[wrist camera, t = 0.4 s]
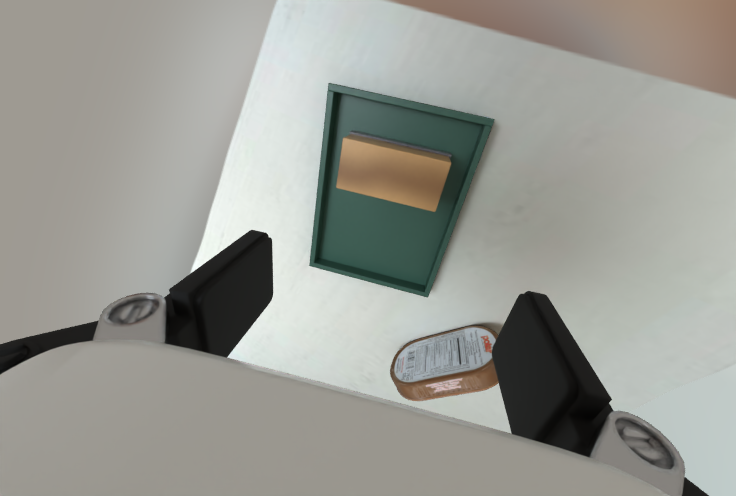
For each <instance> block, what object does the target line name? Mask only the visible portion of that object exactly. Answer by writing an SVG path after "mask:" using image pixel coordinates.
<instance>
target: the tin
mask: <svg viewBox="0 0 736 496" xmlns="http://www.w3.org/2000/svg"><path fill="white" fill-rule="evenodd" d="M497 337H498V334H497V333H496V332H494V331H493V330H491V329H489V328H487V327H483V326H468V327H463V328H460V329H456V330H452V331H448V332H444V333H440V334H436V335H432V336H428V337H424V338H421V339H417V340H414V341H412V342H410V343H408V344H406V345H405V346H404V347H402V348H401V349H400V350H399V351H398V352H397V354H396V355H395V357H394V359H393V362H392V364H391V369H390V375H391V378H392V380H393V382H394V384H395V385H396V387H397V390H398V392H399V393H400V394H401V395H402V396H403V397H404V398H406V399H408V400H412V401H424V400H430V399H435V398H441V397H447V396H453V395H459V394H466V393H472V392H478V391H483V390H487V389H489V388H491V387H493V386H495V385H497V384H498V383H499V382H498V378H497V374H496V370H495V366H494V362H493V359H492V348H493V345H494V343H495V341H496V339H497Z"/></svg>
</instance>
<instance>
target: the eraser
mask: <svg viewBox="0 0 736 496" xmlns="http://www.w3.org/2000/svg"><path fill="white" fill-rule="evenodd" d="M450 158H451V152H448V151H443V150H439V149H435V148H430V147H426V146H422V145H417V144H413V143H409V142H404V141H400V140H396V139H391V138H387V137H383V136H378V135H374V134H370V133H365V132H361V131H356V130H352V131H350V134H349V135H348V136H346V137H344V138H343V142H342V149H341V156H340V164H339V171H338V178H337V185H336V188H339V189H343V190H347V191H351V192H355V193H359V194H363V195H368V196H372V197H376V198H380V199H384V200H388V201H392V202H396V203H400V204H404V205H408V206H412V207H416V208H421V209H425V210H429V211H433V212H435V211H436V209H437V206H438V203H439V200H440V196H441V193H442V190H443V187H444V184H445V181H446V178H447V175H448V172H449V169H450V166H451V161H450Z"/></svg>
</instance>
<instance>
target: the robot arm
mask: <svg viewBox="0 0 736 496" xmlns="http://www.w3.org/2000/svg"><path fill="white" fill-rule="evenodd" d="M169 291H170V294H169V295H167V296H166V297H164V298H163V297H162V296H160V295H158V294H154V293H140V294H134V295H130V296H126V297H124V298H121V299H119V300H117V301H115V302H113V303H111V304H110V305H109V306H107V307H106V308H105V309H104V310H103V312H102V314H101V315H100V318H99V321H95V322H91V323H87V324H82V325H78V326H74V327H70V328H65V329H61V330H57V331H52V332H48V333H43V334H40V335H35V336H30V337H26V338H22V339H18V340H14V341H10V342H7V343H4V344H0V496H709V495H707V494H706V493H705V492H703V491H702V490H701V489H699V488H698V487H697V486H696V485H694V484H693V483H692V482H690V481H689V480H688V479H687V478H685V477H684V475H685V467H684V461H683V459H682V458H681V456H680V454H679V452H678V451H677V449H676V448H675V447H674V445H673V444H672V443H671V442H670V441H669V440H668V439H667V438H666V437H665V436H664V435H663V434H662V433H661V432H660V431H659V430H657V429H656V428H654V427H653V426H652V425H651V424H649V423H648V422H646V421H645V420H643V419H641V418H639V417H638V416H635V415H633V414H630V413H628V412H623V411H613V409H612V408H611V406H610V404H609V402H610V401H611V400H612V399H611V397H610V396H609V394H608V393H607V391H606V389H605V388H604V386H603V385H602V383H601V381H600V380H599V378H598V377H597V375H596V373H595V372H594V370H593V369H592V367H591V365H590V364H589V362H588V361H587V359H586V357H585V356H584V354H583V353H582V351H581V349H580V348H579V346H578V345H577V343H576V341H575V340H574V338H573V337H572V335H571V333H570V332H569V330H568V329H567V327H566V325H565V324H564V322H563V321H562V319H561V317H560V316H559V314H558V313H557V311H556V309H555V308H554V306H553V305H552V303H551V301H550V300H549V298H548V297H547V296H546V295H544V294H540V293H535V292H531V291H527V292H526V293H525V294H520V295H519V296H518V298H517V300H516V302H515V304H514V306H513V308H512V310H511V312H510V314H509V316H508V318H507V320H506V322H505V324H504V326H503V327H502V329H501V331H500V333H499V335H498V337H497V339H496V341H495V343H494V345H493V348H492V359H493V362H494V366H495V370H496V374H497V378H498V382H499V386H500V389H501V393H502V397H503V401H504V405H505V409H506V413H507V417H508V420H509V424H510V428H511V432H512V434H510V433H507V432H503V431H500V430H496V429H492V428H489V427H485V426H481V425H478V424H474V423H470V422H467V421H463V420H459V419H456V418H452V417H448V416H445V415H441V414H437V413H434V412H430V411H426V410H423V409H419V408H415V407H412V406H408V405H404V404H401V403H397V402H393V401H389V400H386V399H382V398H378V397H375V396H371V395H367V394H363V393H360V392H356V391H352V390H348V389H345V388H341V387H337V386H333V385H330V384H326V383H322V382H318V381H315V380H311V379H307V378H303V377H299V376H295V375H292V374H288V373H284V372H280V371H276V370H272V369H269V368H265V367H261V366H257V365H253V364H250V363H246V362H242V361H238V360H234V359H230V358H227V357H228V355H229V354H230V353H231V352H232V350H233V349H234V348H235V346H236V345H237V344H238V343H239V341H240V340H241V339H242V337H243V336H244V335H245V334H246V332H247V331H248V330H249V329H250V327H251V326H252V325H253V323H254V322H255V321H256V320H257V318H258V317H259V316H260V314H261V313H262V312H263V311H264V309H265V308H266V307H267V306H268V304H269V303H270V301H271V300H272V297H273V262H272V239H271V238H269V237H268V234H267V233H264V232H259V231H255V230H250V231H249V232H247V233H246V234H245V235H243V236H242V237H241V238H239V239H238V240H236V241H235V242H234V243H232V244H231V245H230V246H228V247H227V248H225V249H224V250H223V251H221V252H220V253H219V254H217V255H216V256H214V257H213V258H212V259H210V260H209V261H208V262H206V263H205V264H203V265H202V266H201V267H199V268H198V269H197V270H195V271H194V272H192V273H191V274H190V275H188V276H187V277H185V278H184V279H183V280H181V281H180V282H179V283H178V284H176V285H174V286H173V287H172V288H170V290H169Z"/></svg>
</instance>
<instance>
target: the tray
mask: <svg viewBox="0 0 736 496" xmlns="http://www.w3.org/2000/svg"><path fill="white" fill-rule="evenodd" d="M328 90H329V91H328V94H327V103H326V113H325V122H324V132H323V141H322V151H321V160H320V170H319V179H318V189H317V198H316V208H315V217H314V227H313V236H312V246H311V256H310V265H309V266H312V267H316V268H319V269H323V270H327V271H331V272H334V273H338V274H342V275H346V276H349V277H353V278H357V279H361V280H364V281H368V282H372V283H376V284H379V285H383V286H387V287H391V288H394V289H398V290H402V291H406V292H409V293H413V294H417V295H421V296H424V297H428V296H429V293H430V290H431V288H432V285H433V282H434V280H435V277H436V274H437V272H438V269H439V266H440V264H441V261H442V258H443V256H444V253H445V250H446V248H447V245H448V242H449V240H450V237H451V234H452V232H453V229H454V226H455V224H456V221H457V218H458V216H459V213H460V210H461V208H462V205H463V202H464V200H465V197H466V194H467V192H468V189H469V187H470V184H471V181H472V179H473V176H474V173H475V171H476V168H477V165H478V163H479V160H480V157H481V155H482V152H483V149H484V147H485V144H486V141H487V139H488V136H489V133H490V131H491V128H492V127H491V126H492V125H493V123H494V119H491V118H487V117H482V116H478V115H473V114H469V113H464V112H460V111H455V110H451V109H446V108H441V107H437V106H432V105H428V104H423V103H419V102H414V101H409V100H405V99H400V98H396V97H391V96H387V95H382V94H378V93H373V92H368V91H364V90H359V89H355V88H350V87H346V86H341V85H337V84H331V83H329V84H328ZM352 130H356V131H361V132H365V133H370V134H374V135H378V136H383V137H387V138H391V139H396V140H400V141H404V142H409V143H413V144H417V145H422V146H426V147H430V148H435V149H439V150H443V151H448V152H451V158H450V161H451V166H450V169H449V172H448V175H447V178H446V181H445V184H444V187H443V190H442V193H441V196H440V200H439V203H438V206H437V209H436V211H435V212H433V211H429V210H425V209H421V208H416V207H412V206H408V205H404V204H400V203H396V202H392V201H388V200H384V199H380V198H376V197H372V196H368V195H363V194H359V193H355V192H351V191H347V190H343V189H339V188H336V185H337V178H338V171H339V164H340V156H341V149H342V142H343V138H344V137H346V136H348V135H349V134H350V131H352Z"/></svg>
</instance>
